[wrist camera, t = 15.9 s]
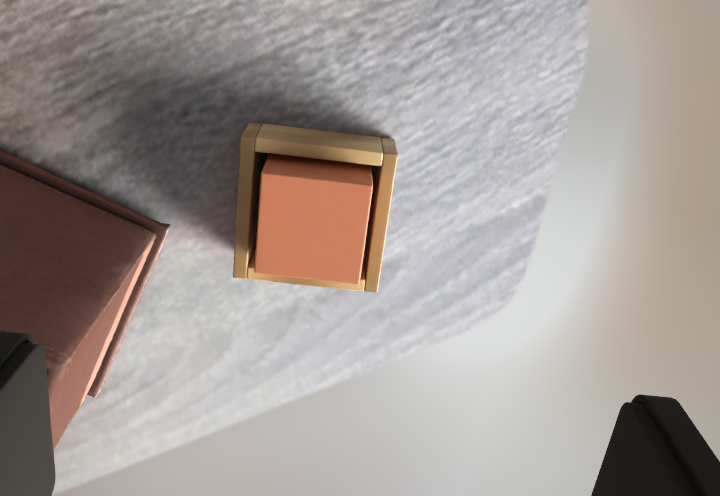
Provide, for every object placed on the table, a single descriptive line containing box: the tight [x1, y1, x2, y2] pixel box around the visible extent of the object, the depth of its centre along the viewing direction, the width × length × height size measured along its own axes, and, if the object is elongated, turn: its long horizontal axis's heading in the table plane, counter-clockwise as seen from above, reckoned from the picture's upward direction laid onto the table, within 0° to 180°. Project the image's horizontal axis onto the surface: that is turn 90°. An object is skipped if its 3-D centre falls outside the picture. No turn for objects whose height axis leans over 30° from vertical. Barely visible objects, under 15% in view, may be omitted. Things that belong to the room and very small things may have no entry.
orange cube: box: [254, 153, 373, 284], centre depth 29 cm, size 4×4×4 cm
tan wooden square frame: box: [233, 122, 398, 293], centre depth 30 cm, size 6×6×2 cm
